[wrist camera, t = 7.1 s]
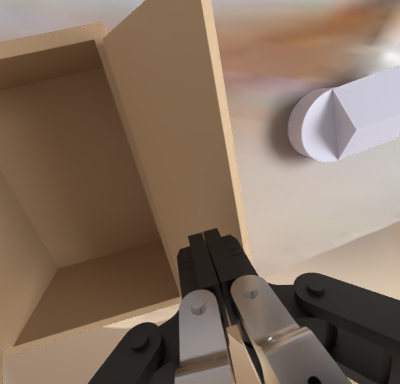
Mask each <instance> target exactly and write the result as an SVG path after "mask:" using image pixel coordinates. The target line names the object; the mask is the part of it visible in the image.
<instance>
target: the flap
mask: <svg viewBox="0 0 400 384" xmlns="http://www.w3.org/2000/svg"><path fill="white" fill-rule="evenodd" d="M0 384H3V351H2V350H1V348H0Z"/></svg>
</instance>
